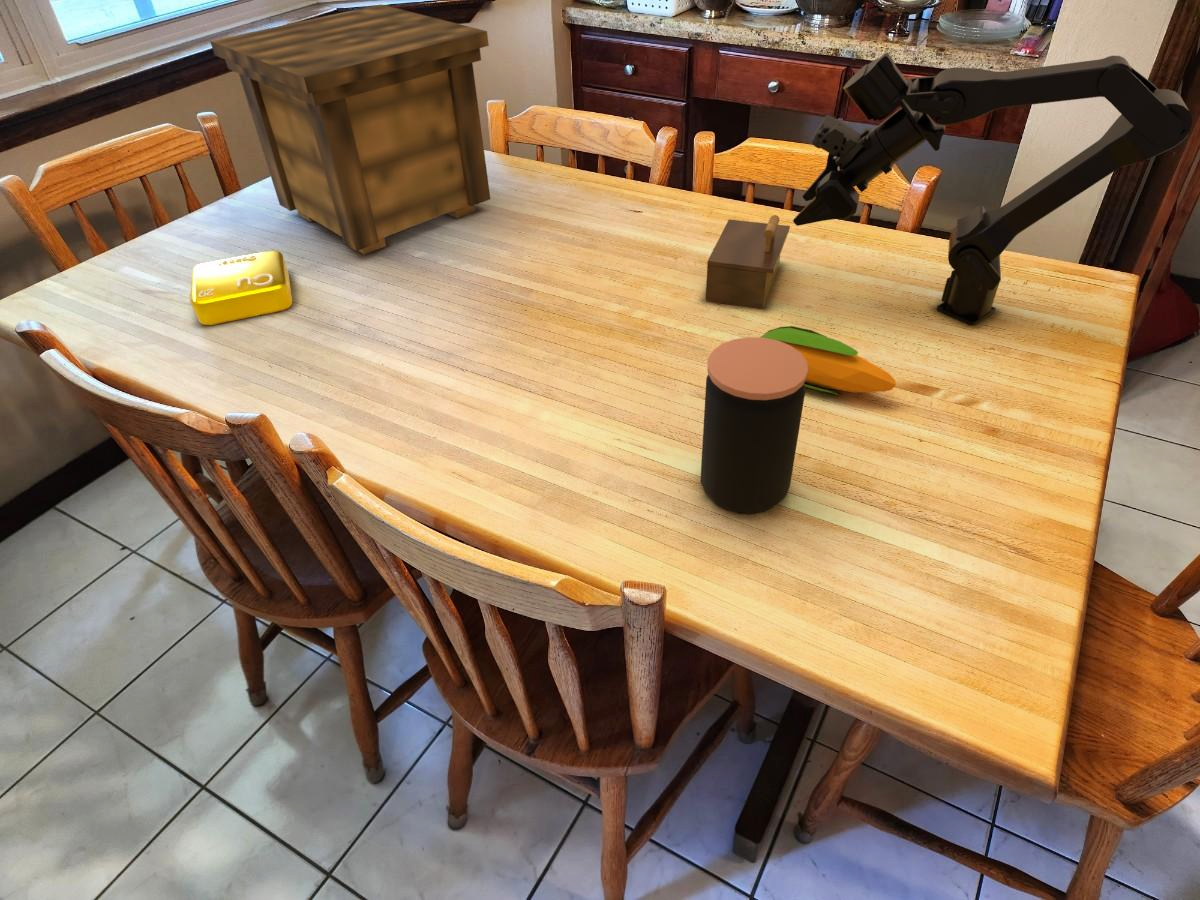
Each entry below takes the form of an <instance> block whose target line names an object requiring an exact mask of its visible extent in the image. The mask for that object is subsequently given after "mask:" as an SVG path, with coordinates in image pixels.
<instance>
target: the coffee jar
mask: <svg viewBox="0 0 1200 900" xmlns="http://www.w3.org/2000/svg"><path fill="white" fill-rule="evenodd" d="M706 369H707V375H706V379H705V396H704V412H703V429H702V447H701V462H700V481H699V482H700V484H701V486H702V489H703V491H704V493H705V494H706V495H707V496H708V498H710V500H711V501H712V502H713V503H714V504H715V505H717V506H719V507H720V508H722V509H724V510H726V511H728V512H732V513H736V514H741V515H743V514H744V515H754V514H761V513H764V512H766V511H768V510H771V509H772V508H775V507H776V506H777V505H778V504H779V503H781V501H783V500H784V499H785V497H786V496H787V495H788V492H789V490H790V488H791V483H792V477H793V470H794V464H795V458H796V451H797V446H798V438H799V435H800V428H801V427H800V426H801V420H802V416H803V415H802V414H803V409H804V401H805V396H806V387H805V385H804V384H805V380H806V378H807V375H808V365H807V361H806V359H805V358H804V357H803V355H802V354H801V353H800V352H799V351H797V350H796V349H795V348H793V347H792V346H790V345H788V344H785V343H783V342H780V341H778V340H773V339H768V338H760V337H758V336H756V337H755V336H748V337H747V336H746V337H740V338H734V339H731V340H728V341H725V342H723V343H721V344H719V345H717V347H715V348H714V349H712V350H711V352H710V353H709V355H708V357H707V366H706Z"/></svg>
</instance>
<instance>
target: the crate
mask: <svg viewBox="0 0 1200 900" xmlns="http://www.w3.org/2000/svg"><path fill="white" fill-rule="evenodd" d="M488 36H489V35H488V31H487V30H484V29H480V28H476V27H472V26H469V25H464V24H461V23H456V22H453V21H448V20H444V19H441V18H436V17H433V16H430V15H429V16H428V15H425V14H421V13H417V12H413V11H410V10H409V11H408V10H404V9H401V8H397V7H393V6H389V5H385V4H377V5H371V6H367V7H362V8H358V9H352V10H348V11H343V12H339V13H334V14H329V15H325V16H320V17H315V18H311V19H306V20H302V21H296V22H291V23H287V24H282V25H278V26H274V27H269V28H264V29H260V30H254V31H250V32H246V33H241V34H236V35H231V36H226V37H223V38H222V37H221V38H218V39H213V40H210V41H209V42H210V45H211V49H212V51H213V55H214V56H215V57H218V58H220V59H222V60H223V59H224V60H225V63H226V66H227V69H228V70H229V71H232V72H235V73H237V74H238V76H239V80H240V83H241V86H242V89H243V92H244V95H245V98H246V101H247V104H248V108H249V111H250V113H251V118H252V120H253V124H254V128H255V130H256V133H257V137H258V139H259V143H260V146H261V149H262V152H263V156H264V159H265V162H266V165H267V169H268V172H269V175H270V178H271V182H272V185H273V187H274V191H275V195H276V198H277V201H278V203H279V206H281V207H283V208H284V209H286V210H288V211H289V212H292V211H295V210H296V211H297V214H298V215H299V216H300V217H301V218H302V219H304V220H306V221H308V222H309V223H311V222H314V221H315V222H317V223H318V224H320V225H322V226H323V227H324V228H327V229H328V230H330V231H331V232H333V233H334V234H336V235H338V236H340V237H341V238H342V241H343V244H344V245H346V246H347V247H348V248H351V249H352V250H354V251H356V252H359V253H361V254H362V255H364V256H365V255H367V254H369V253H372V252H376V251H378V250H380V249H383V248H384V247H387V244H386V239H385V238H386V237H388V236H392V235H394V234H396V233H400V232H402V231H404V230H406V229H407V230H408V229H409V228H412V227H415V226H418V225H420V224H423V223H425V222H429V221H430V220H433V219H436V218H438V217H440V216H443V215H445V214H447V215H449V216H451V217H453V218H455V219H458V218H462V217H464V216H466V215H469V214H471V213H474V212H476V211H477V210H476V206H477V205H479V204H482V203H484V202H487V201H490V200H491V193H490V186H489V178H488V171H487V170H488V169H487V163H486V156H485V154H486V153H485V148H484V140H483V133H482V124H481V117H480V110H479V103H478V102H479V101H478V95H477V87H476V79H475V71H474V65H473V63H476V62H480V61H482V56H481V49H482V48H485V47H489V46H490V44H489V37H488Z"/></svg>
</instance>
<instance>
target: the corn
mask: <svg viewBox="0 0 1200 900" xmlns="http://www.w3.org/2000/svg"><path fill="white" fill-rule="evenodd" d="M759 338H768V339H773V340H778V341H780V342H783V343H785V344H788V345H790V346H792V347H793V348H795V349H796V350H797V351H799V352H800V353H801V354H802V355H803V357H804V358H805V359H806V361H807V365H808V375H807V378H806V380H805V382H804V385H805V388H808V389H811V390H814V391H815V390H816V391H820V392H824V393H829V394H832V395H837V396H839V394H838V393H837V392H835V391H832V390H837V391H843V392H849V393H883V392H884V393H885V392H888V391H889V392H890V391H892V390H894V388H895V387H896V386H897V381H896V379H895V378H894V377H893V376H892V375H891V373H889V372H887V371H886V370H884V369H882V368H881V367H879V366H878V365H876V364H874V363H872V362H870V361H868V360H867V359H865V358H864V357H861V356H860V355H858V354H859V351H857V350H856V349H855V348H854V347H851V346H850V345H847V344H846V343H844V342H843V341H840V340H837V339H835V338H831V337H828V336H826V335H824V334H821V333H819V332H817V331H815V330H813V329H807V328H802V327H798V326H793V325H790V326H779V327H776V328H773V329H770V330H768V331H767V332H765V333H764V334H763V335H761V336H760V337H759ZM813 385H814V386H813ZM828 389H830V390H828Z"/></svg>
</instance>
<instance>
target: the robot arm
mask: <svg viewBox="0 0 1200 900" xmlns="http://www.w3.org/2000/svg"><path fill="white" fill-rule="evenodd" d="M842 88H843V90H844V92H845V93H846V95H848V97H849V98H850V99H851V101H852V102H853V103H854V105H855V106H856V107H857V108H858V110H859V111H860V112H861V114H863V116H864V118H865V119H867V121H871V120H873V121H874V122H876V121H880V122H881V123H880V124H878V125H877V126H875V128H871V127H870V128H865V129H864V130H863V131H861V132H860V133H859V132H858V131H857V130H855V129H853V128H852V127H851V126H850V125H847V124H846V123H844V122H843V121H841V120H839V119H837V118H835V117H833V116H832V115H830V114H826V115H825V116H824V117H823V119H822V120H821V122H820V124H819V126H818V127H817V129H816V130H815V132H814V134H813V136H812V139H811V141H810V142H811V145H812V146H813V147H815V148H816V149H821V150H822V151H825V152H827V153H828V154H827V159H826V166H825V168H824V169H823V170H822V171H821V173H820V174H819V175H818V176H817V177H816V178H815V180H814V181H813V182H812V183H811V185H810V186H809V187H808V188H807V189H806V190H805V192H804V193H803V194H802V199H803V200H804V201H805V202H808V203H807V204H806V206H804V208H802V210H800V211H799V213H798V214H797V215H796V216H795V217H794V218H793V220H792V222H793V223H794V225H795V226H796V227H799V226H804V225H809V224H814V223H818V222H825V221H831V220H839V221H841V220H842V221H845V222H846V221H847V220H848V219H850V218H851V217H853V216H854V215H855V214H856V213H857V210H858V207H859V201H860V195H861V194H860V193H863V192H864V191H866V190H867V189H868V188H869V183H871V182H872V181H874V179H876V178H878V177H879V176H881V174H883V173H884V174H885V175H887V174H889V173H890V172H892V171H893V166H894V165H895V164H896V163H898V162H899V161H901V159H903V158H904V157H906V156H907V155H908V154H911V152H912V151H914V150H915V149H916V148H918V147H920V146H921V145H922V144H924V143H925V142H926V141H927V142H928V144H929V145H930V147H931V148H932V149H933V150H934V151H935V152H938V151H939V150H940V149H941V141H942V138H943V136H944V134H945V132H946V126H952V125H956V124H959V123H960V124H961V123H963V122H967V121H970V120H974V119H978V118H980V117H982V116H984V115H987V114H989V113H991V112H994V111H998V110H1002V109H1007V108H1013V107H1024V106H1032V105H1041V104H1048V103H1058V102H1066V101H1076V100H1084V99H1093V98H1105V99H1106V100H1107V102H1109V103H1110V104H1111V105H1112V106H1113V107H1114V108H1115V109H1116V110H1117V111H1118V113H1120V115H1119V116H1118V117H1117V119H1116V120H1115V121H1114V122H1113V123H1112V124H1111V125H1110V126H1109V128H1108V130H1107V131H1106V132H1105V133H1104V134H1103V135H1102V137H1100V138H1099V139H1098V140H1097V141H1095V142H1094V143H1092V144H1091V145H1089V146H1088V147H1087V148H1086V149H1084V150H1082V151H1080V152H1079V153H1077V155H1074V156H1073V157H1072V158H1071V159H1069V160H1068V161H1066V162H1065V163H1063V164H1062V165H1060V166H1059V167H1058V168H1056V169H1054V170H1053V171H1052V172H1050V173H1049V174H1047V175H1046V176H1044V177H1043V178H1041V179H1040V180H1038V181H1037V182H1036V183H1034V184H1033V185H1031V186H1029V188H1027V189H1026V190H1024V191H1023V192H1021V193H1020V194H1018V195H1017V196H1015V197H1014V198H1012V199H1011V200H1009V201H1008V202H1006V203H1005V204H1004V205H1002V206H1000V207H997V208H994V209H990V210H986V209H985V207H984V205H983V204H979V205H978V206H977V207H975V208H974V209H973V210H972V211H971V212H970V213H969V214H968V215H966V216H963V217H961V218H957V219H956V225H955V226H954V227H953V228H952V230H951V231H950V234H949V239H948V252H947V259H948V264H949V265H950V268H951V269H952V271H951V274H950V276H949V277H947V278H946V281H945V285H944V288H943V292H942V296H941V299H940V300H941V303H939V304H938V305H937V306H936V309H935V310H936V311H938V312H940V313H943V314H946V316H947V315H948V316H950V317H952V318H954V319H956V320H959V321H961V322H963V323H965V324H968V325H970V326H974V325H976V324H977V323H979V322H981V321H983V320H984V319H986V318H987V317H989V316H991V315H993V314H994V313H995V312H996V310H997V308H996V307H995V306H993V305H994V301H995V298H996V295H997V292H998V289H999V286H1000V282H1001V280H1002V275H1001V274H1002V273H1001V272H1002V271H1001V255H1002V253H1003V252H1004V251H1005V250H1006V248H1007V247H1008V246H1009V245H1010V243H1011V242H1012V241H1013V240H1014V239H1015V238H1016V237H1017V236H1018V235H1019V234H1021V233H1022V232H1023V231H1025V230H1027V229H1028V228H1030V227H1031V226H1033V225H1034V224H1035V223H1037V222H1039V221H1040V220H1042V219H1044V218H1045V217H1046V216H1048V215H1049V214H1051V213H1053V212H1054V211H1056V210H1057V209H1059V208H1060V207H1062V206H1063V205H1064V204H1066V203H1068V202H1070V201H1071V200H1072V199H1075V198H1076V197H1077V196H1079V195H1080V194H1082V193H1083V192H1085V191H1086V190H1088V189H1090V188H1091V187H1092V186H1095V185H1096V184H1098V183H1099V182H1100V181H1101V180H1103V179H1105V178H1106V177H1108V176H1109V175H1111V174H1112V173H1114V172H1115V171H1117V170H1119V169H1121V168H1125V167H1127V166H1131V165H1136V164H1139V163H1142V162H1146V161H1148V160H1151V159H1153V158H1155V157H1158V156H1159V155H1161V154H1163V153H1165V152H1168V151H1170V150H1172V149H1174V148H1176V147H1178V146H1179V145H1180V144H1181V143H1182V142H1183V141H1185V140H1186V138H1188V137H1189V134H1190V131H1191V128H1192V125H1193V116H1192V115H1191V112H1190V110H1189V108H1188V107H1187V105H1186V103H1185V101H1184V100H1183V98H1182V96H1181V95H1180V94H1179V93H1177V91H1175V90H1172V89H1168V88H1160V89H1159V88H1158V87H1157V86H1156V85H1155V84H1153V83H1152V82H1151V81H1150V80H1149V79H1148V78H1146V77H1145V76H1144V75H1143V74H1141V73H1140V72H1139V71H1137V70H1136V69H1135V68H1133V67H1132V66H1131V65H1130V63H1129V62H1128V60H1127V59H1126V58H1125V57H1123V56H1121V55H1109V56H1106V57H1103V58H1100V59H1092V60H1084V61H1077V62H1076V61H1075V62H1068V63H1062V64H1055V65H1046V66H1038V67H1031V68H1024V69H1023V68H1022V69H1016V70H1009V71H998V70H997V71H995V70H990V69H983V68H978V67H949V68H946V69H943V70H941V71H940V72H939V73H937V75H930V76H929V75H928V76H919V77H910V78H908V79H907V78H906V77H905V76H904V74H903V73H902V72H901V70H900V69H899V68H898V67H897V65H896V63H895V61H894V59H893V57H892V55H890V53H889V52H885V53H883V54H882V55H881V56H879V57H878V58H876V59H874V60H872V61H871V62H869V63H868V64H867V63H866V64H864V65H863V67H861V68H860V69H859V70H857V71H856V72H855V74H854V75H852V77H850V79H849V80H848V81H847V82H846V83H845V84H844V86H843V87H842ZM899 107H900V108H899ZM898 108H899V109H898ZM896 109H897V110H896ZM894 111H895V112H894ZM884 119H885V120H884ZM855 187H856V188H857V189H858V190H859V191H860V193H859V192H858V190H856V188H855Z"/></svg>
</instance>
